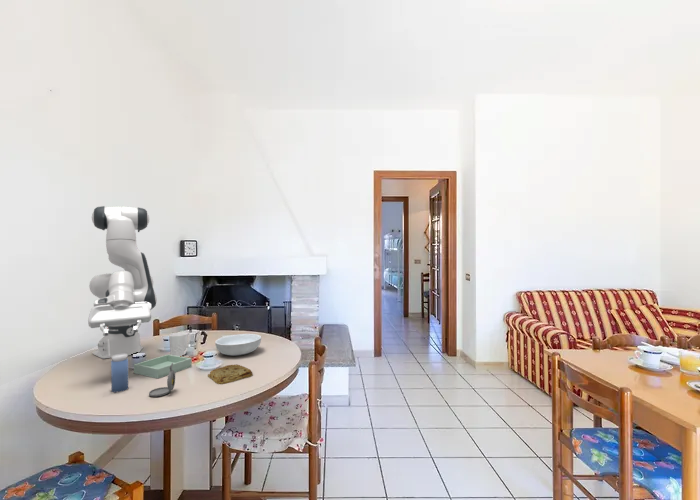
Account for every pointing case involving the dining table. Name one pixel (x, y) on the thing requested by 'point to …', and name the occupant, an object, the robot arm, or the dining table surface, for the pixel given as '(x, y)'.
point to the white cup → (178, 343)
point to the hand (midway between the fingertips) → (121, 333)
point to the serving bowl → (238, 344)
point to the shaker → (119, 372)
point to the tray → (162, 366)
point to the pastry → (229, 374)
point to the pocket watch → (165, 390)
